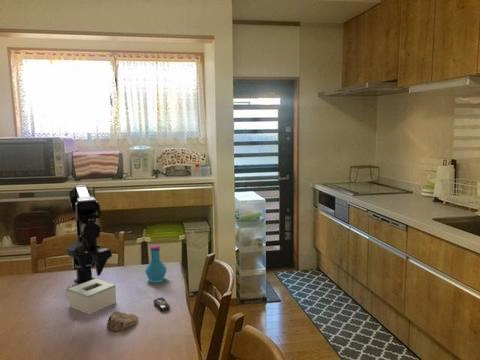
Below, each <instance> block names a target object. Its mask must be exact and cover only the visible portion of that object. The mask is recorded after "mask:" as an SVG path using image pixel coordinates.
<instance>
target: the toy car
mask: <svg viewBox="0 0 480 360" xmlns="http://www.w3.org/2000/svg"><path fill="white" fill-rule="evenodd" d="M150 283H151V284H154V282H152V281H151V282H150ZM154 289H155V286H154ZM152 301H153V306H154V307H156V308H158V309H159V311H160V312H161V313H162V312H165V311H169V310H171V305H170V304H169V302H167V300H166V299H165V298H164V297H162V296H161V297H156V299H154V300H152Z"/></svg>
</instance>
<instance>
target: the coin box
mask: <svg viewBox="0 0 480 360" xmlns="http://www.w3.org/2000/svg"><path fill="white" fill-rule="evenodd" d="M116 289H117V288H116V284H114V283H111V282H108V281H104V280H101V279H98V278H95V279H93V280H90V281H88V282H85V283H82V284H81V283H79V284H77V285H75V286H71V287H70V288H68V289H67V290H68V291H67V293H68V303H69V304H68V306H69V307H70V308H73V309H75V310H77V311H80V312H82V313H85V314H87V315H91V314H94V313H96V312H98V311H100V310H102V309H105V308H107V307H109V306H111V305H114V304H115V303H117V291H116Z"/></svg>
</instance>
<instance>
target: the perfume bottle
mask: <svg viewBox="0 0 480 360" xmlns="http://www.w3.org/2000/svg"><path fill="white" fill-rule="evenodd" d="M149 249H150V254H151V256H150V257H151V260H150V262H149V264H148V265H147V267H146V268H145V270H144V271H145V274H146V276H147V279H148V281H149V282H150V283H152V282H153V283H160V282H163V281H164V280H165V276H166V273H167V271H168V270H167V269H168V267H167V266H166V265H165V264H164V262H162V261H161V259H160V257H161V256H160V249H161V246H159V245H151V246H150V247H149ZM151 281H152V282H151Z"/></svg>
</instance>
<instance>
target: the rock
mask: <svg viewBox="0 0 480 360" xmlns="http://www.w3.org/2000/svg"><path fill="white" fill-rule="evenodd" d="M138 320H139V317H138V316H137V315H135V314H134V313H129V314H128V313H125V312H122V311H120V310H114V311H113V313H111V314H110V315H109V317H108V319H107V323H106V329H109V330H111V331H113V332H115V333H116V332H119V331H123V330H124V329H127V328H129V327H131V326H133V325H136V324H138Z"/></svg>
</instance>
